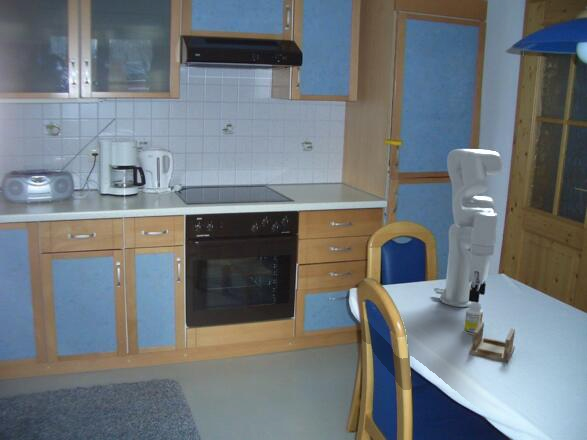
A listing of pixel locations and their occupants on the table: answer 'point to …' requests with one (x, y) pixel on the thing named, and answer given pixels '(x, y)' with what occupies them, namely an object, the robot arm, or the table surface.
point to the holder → (492, 345)
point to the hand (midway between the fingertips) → (476, 297)
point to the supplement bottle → (473, 317)
